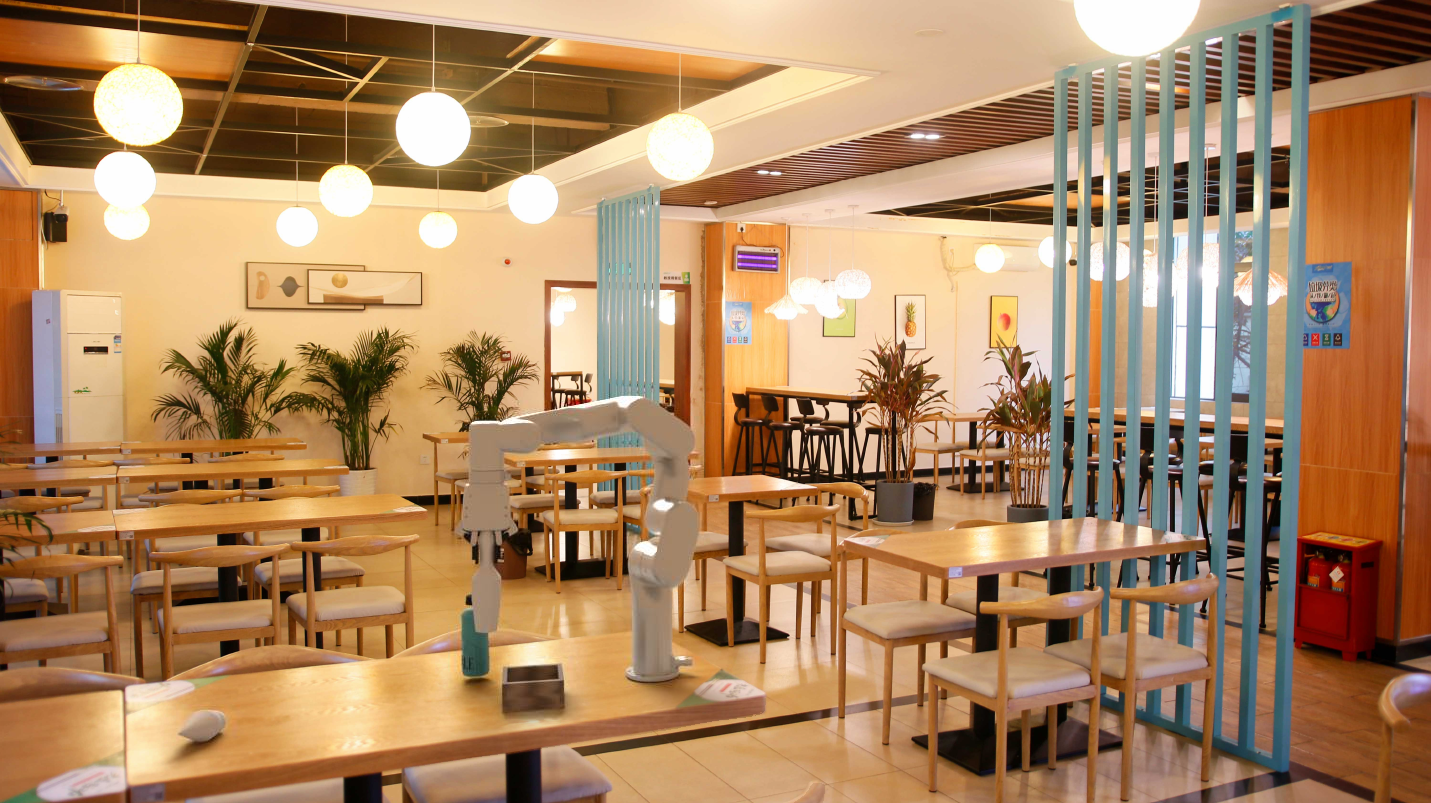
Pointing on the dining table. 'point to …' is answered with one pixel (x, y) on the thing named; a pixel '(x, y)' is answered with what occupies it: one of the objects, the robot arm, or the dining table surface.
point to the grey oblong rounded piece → (203, 725)
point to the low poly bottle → (486, 587)
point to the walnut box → (532, 687)
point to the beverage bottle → (473, 645)
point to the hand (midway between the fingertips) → (486, 562)
